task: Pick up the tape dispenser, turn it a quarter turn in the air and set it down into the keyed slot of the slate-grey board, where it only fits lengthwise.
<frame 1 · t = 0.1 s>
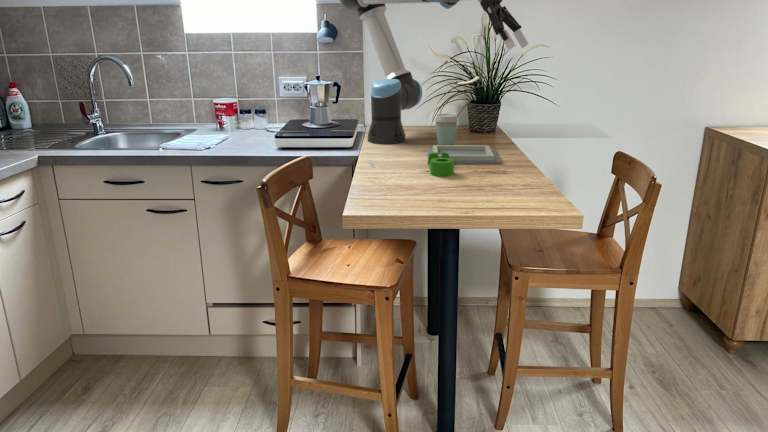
hand: (519, 47, 208), 36 cm above the table, tool tilted 35°, fingers open, 13 cm apart
slot board: (461, 157, 203), on the table
coffee cup: (445, 147, 219), on the table
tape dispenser: (440, 172, 185), on the table
butter knife: (375, 170, 188), on the table
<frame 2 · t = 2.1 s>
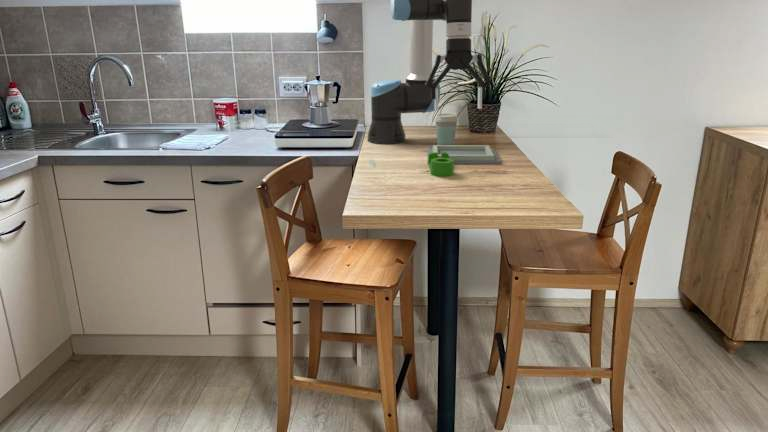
hand: (458, 109, 181), 19 cm above the table, tool pointing down, fingers open, 13 cm apart
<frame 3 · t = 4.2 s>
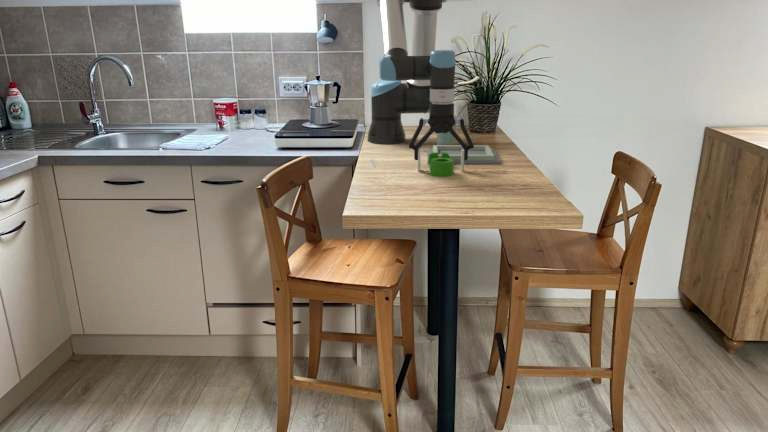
hand: (440, 170, 185), 0 cm above the table, tool pointing down, fingers open, 13 cm apart
nothing on the table moved.
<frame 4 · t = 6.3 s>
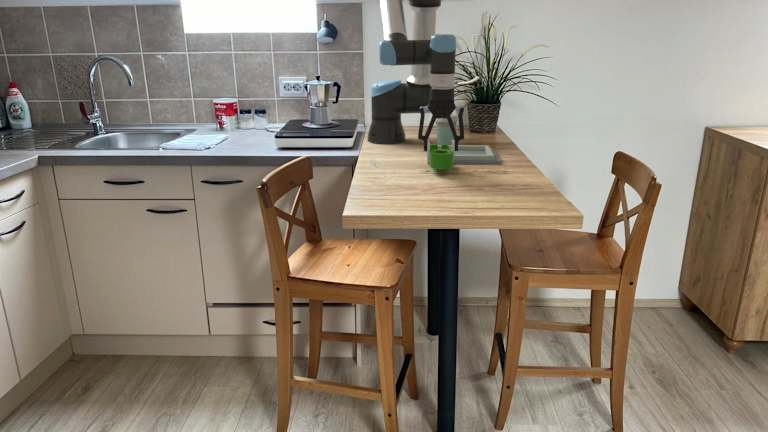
hand: (440, 161, 185), 3 cm above the table, tool pointing down, fingers closed on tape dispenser, 7 cm apart
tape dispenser: (440, 163, 185), point 2 cm above the table, touching gripper
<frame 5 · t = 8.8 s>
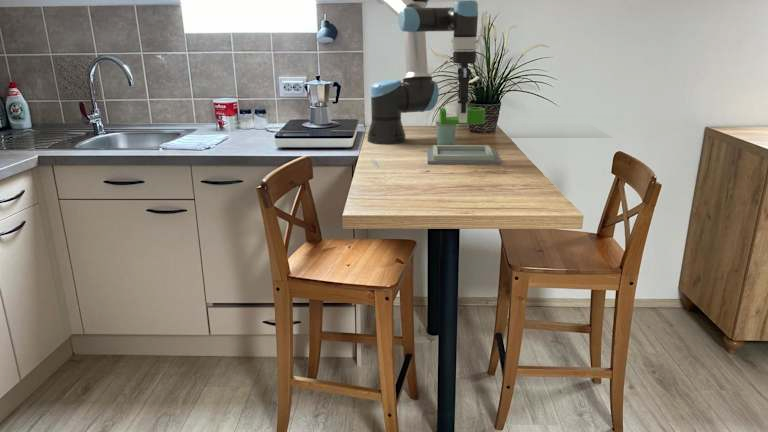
hand: (462, 120, 198), 13 cm above the table, tool pointing down, fingers closed on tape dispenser, 7 cm apart
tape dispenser: (462, 123, 199), point 12 cm above the table, touching gripper
when the fingers open (2 cm above the table, at t = 11.4 s): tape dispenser stays where it is, resting on slot board.
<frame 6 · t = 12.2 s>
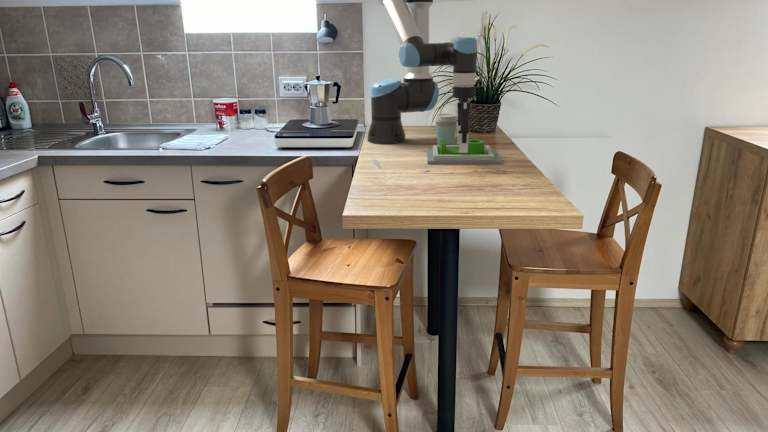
hand: (462, 148, 202), 3 cm above the table, tool pointing down, fingers open, 13 cm apart
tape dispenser: (462, 155, 202), point 1 cm above the table, touching slot board
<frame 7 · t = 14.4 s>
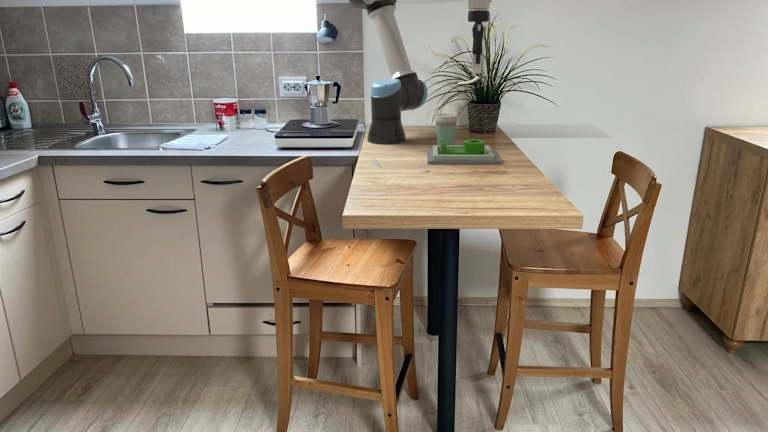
hand: (476, 71, 213), 27 cm above the table, tool pointing down, fingers open, 13 cm apart
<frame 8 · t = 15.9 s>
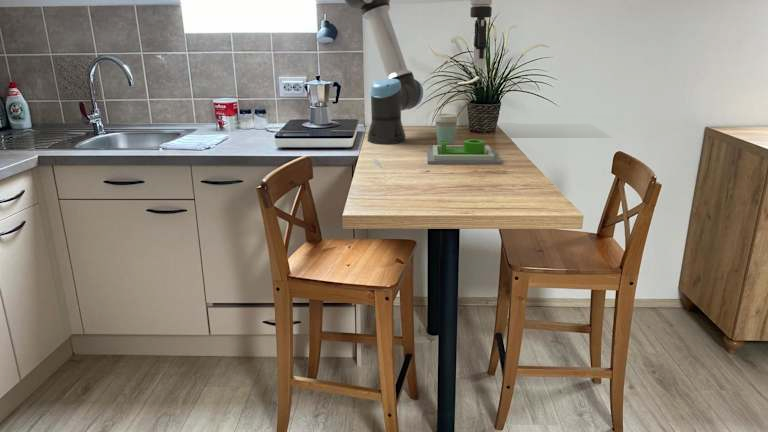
hand: (478, 66, 217), 29 cm above the table, tool pointing down, fingers open, 13 cm apart
at the end: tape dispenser 0.3 cm off-centre on the slot board, point 0.8 cm above the slot board's base; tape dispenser tilted 0°; the gripper is holding nothing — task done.
